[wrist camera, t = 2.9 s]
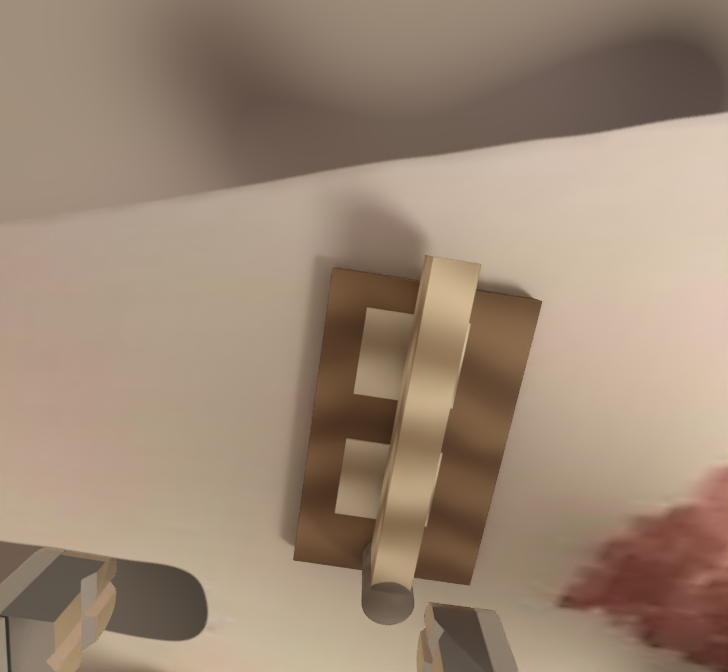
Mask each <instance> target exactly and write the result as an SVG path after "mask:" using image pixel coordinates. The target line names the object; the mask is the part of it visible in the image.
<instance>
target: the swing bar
mask: <svg viewBox="0 0 728 672" xmlns="http://www.w3.org/2000/svg"><path fill="white" fill-rule="evenodd" d="M480 268H481V264H477V263H470V262H464V261H458V260H452V259H445V258H439V257H433V256H426V255H425V258H424V264H423V269H422V274H421V280H420V285H419V291H418V296H417V301H416V307H415V312H414V318H413V323H412V329H411V334H410V339H409V345H408V350H407V356H406V361H405V366H404V372H403V377H402V383H401V388H400V394H399V399H398V404H397V410H396V415H395V421H394V426H393V431H392V437H391V442H390V448H389V453H388V458H387V464H386V469H385V475H384V480H383V486H382V491H381V496H380V502H379V507H378V513H377V518H376V523H375V529H374V534H373V540H372V545H371V548H370V549H369V550H368V551H367V552H366V553H365V555H364V557H363V569H362V609H363V611H364V613H365V614H366V616H367V617H368V618H369V619H371V620H372V621H374V622H376V623H379V624H383V625H393V624H397V623H400V622H402V621H404V620H405V619H407V618H408V617H409V616H410V614H411V613H412V611H413V608H414V596H413V588H412V582H413V578H414V573H415V569H416V564H417V559H418V555H419V550H420V545H421V541H422V536H423V532H424V527H425V522H426V518H427V513H428V509H429V504H430V499H431V495H432V490H433V485H434V481H435V476H436V472H437V467H438V462H439V458H440V453H441V449H442V444H443V439H444V435H445V430H446V425H447V421H448V416H449V412H450V407H451V402H452V398H453V393H454V388H455V384H456V379H457V375H458V370H459V365H460V361H461V356H462V352H463V347H464V342H465V338H466V333H467V328H468V324H469V319H470V315H471V310H472V305H473V301H474V296H475V292H476V287H477V282H478V278H479V273H480Z"/></svg>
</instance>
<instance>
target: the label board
mask: <svg viewBox="0 0 728 672" xmlns="http://www.w3.org/2000/svg"><path fill="white" fill-rule="evenodd" d="M419 285H420V281H418V280H412V279H405V278H399V277H393V276H386V275H380V274H374V273H367V272H361V271H354V270H348V269H342V268H335V267H334V268H333V270H332V277H331V285H330V292H329V299H328V307H327V314H326V322H325V329H324V336H323V344H322V351H321V359H320V366H319V373H318V381H317V388H316V396H315V403H314V410H313V418H312V425H311V433H310V440H309V447H308V455H307V462H306V469H305V477H304V484H303V492H302V499H301V506H300V514H299V521H298V529H297V536H296V543H295V551H294V558H293V560H295V561H302V562H309V563H316V564H323V565H330V566H337V567H344V568H351V569H358V570H362V569H363V557H364V555H365V553H366V552H367V551H368V550H369V549H370V548H371V545H372V540H373V534H374V529H375V523H376V518H377V513H378V507H379V502H380V496H381V491H382V486H383V480H384V475H385V469H386V464H387V458H388V453H389V448H390V442H391V437H392V431H393V426H394V421H395V415H396V410H397V404H398V399H399V394H400V388H401V383H402V377H403V372H404V366H405V361H406V356H407V350H408V345H409V339H410V334H411V329H412V323H413V318H414V312H415V307H416V301H417V296H418V291H419ZM541 304H542V301H540V300H537V299H533V298H526V297H520V296H514V295H507V294H501V293H495V292H488V291H482V290H476V292H475V296H474V301H473V305H472V310H471V315H470V319H469V324H468V328H467V333H466V338H465V342H464V347H463V352H462V356H461V361H460V365H459V370H458V375H457V379H456V384H455V388H454V393H453V398H452V402H451V407H450V412H449V416H448V421H447V425H446V430H445V435H444V439H443V444H442V449H441V453H440V458H439V462H438V467H437V472H436V476H435V481H434V485H433V490H432V495H431V499H430V504H429V509H428V513H427V518H426V522H425V527H424V532H423V536H422V541H421V545H420V550H419V555H418V559H417V564H416V569H415V573H414V578H421V579H428V580H435V581H442V582H449V583H456V584H463V585H470V582H471V578H472V574H473V571H474V567H475V563H476V559H477V555H478V551H479V547H480V543H481V539H482V535H483V531H484V527H485V524H486V520H487V516H488V512H489V508H490V504H491V500H492V496H493V492H494V488H495V484H496V480H497V477H498V473H499V469H500V465H501V461H502V457H503V453H504V449H505V445H506V441H507V437H508V433H509V430H510V426H511V422H512V418H513V414H514V410H515V406H516V402H517V398H518V394H519V390H520V386H521V382H522V379H523V375H524V371H525V367H526V363H527V359H528V355H529V351H530V347H531V343H532V339H533V335H534V332H535V328H536V324H537V320H538V316H539V312H540V308H541Z"/></svg>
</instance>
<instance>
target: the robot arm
mask: <svg viewBox="0 0 728 672" xmlns="http://www.w3.org/2000/svg"><path fill="white" fill-rule="evenodd" d="M115 574H116V560H115V559H113V558H109V557H103V556H97V555H91V554H85V553H79V552H73V551H64V550H58V549H53V548H47V547H45V548H43V549H40V550H38V551H36V552H35V553H34V554H33V555H32V556H30V557H29V558H28V559H27V560H26V561H25V562H24V563H23V564H22V565H21V566H20V567H18V568H17V569H16V570H15V571H14V572H13V573H12V574H11V575H10V576H9V577H7V578H6V579H5V580H4V581H3V582H2V583H1V584H0V672H76V670H77V669H78V667H79V666H80V664H81V651H82V650H84V649H85V648H87V647H88V646H90V645H92V644H93V643H95V642H96V641H97V640H98V638H99V637H100V635H101V634H102V632H103V631H104V629H105V628H106V626H107V624H108V621H109V619H110V617H111V614H112V612H113V609H114V605H115V601H116V589H115V588H114V586H113V585H112V583H111V582H110V581H111V579H112V578H113V577H114V575H115ZM424 618H425V626H426V628H425V629H424V630H423V631H421V632H420V637H419V642H418V651H417V672H519V671H518V668H517V665H516V662H515V660H514V657H513V654H512V651H511V648H510V646H509V643H508V640H507V637H506V634H505V632H504V629H503V626H502V623H501V620H500V618H499V615H498V614H497V613H496V611H493V610H485V609H477V608H470V607H462V606H454V605H446V604H439V603H431V602H429V603H428V605H427V607H426V611H425V615H424Z"/></svg>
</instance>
